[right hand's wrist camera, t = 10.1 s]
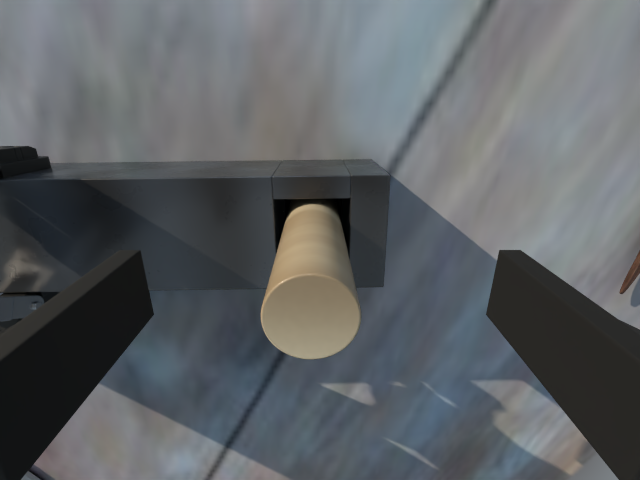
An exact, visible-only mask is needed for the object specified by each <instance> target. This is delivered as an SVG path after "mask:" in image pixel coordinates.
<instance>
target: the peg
mask: <svg viewBox="0 0 640 480" xmlns="http://www.w3.org/2000/svg"><path fill="white" fill-rule="evenodd" d="M261 323H262V327H263V330H264V332H265V334H266V336H267V337H268V339H269V340H270V342H271V343H272V344H273V345H274V346H275V347H277V348H278V349H279V350H281V351H282V352H284V353H286V354H288V355H290V356H293V357H297V358H301V359H321V358H326V357H329V356H332V355H334V354H336V353H338V352H340V351H341V350H343V349H344V348H346V347H347V346H348V345H349V344H350V343H351V342H352V340H353V339H354V337H355V336H356V334H357V332H358V330H359V327H360V324H361V309H360V304H359V299H358V295H357V290H356V286H355V282H354V277H353V273H352V268H351V264H350V260H349V255H348V251H347V246H346V242H345V237H344V233H343V229H342V224H341V220H340V215H339V211H338V206H337V202H336V199H291V203H290V206H289V210H288V214H287V217H286V221H285V225H284V228H283V232H282V235H281V239H280V243H279V246H278V250H277V253H276V257H275V261H274V264H273V268H272V272H271V275H270V279H269V282H268V286H267V290H266V293H265V297H264V300H263V304H262V308H261Z"/></svg>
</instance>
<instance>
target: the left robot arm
mask: <svg viewBox="0 0 640 480" xmlns="http://www.w3.org/2000/svg"><path fill="white" fill-rule="evenodd" d="M48 168H51V165H50V161H49V157H48V156H38V155H37V151H36V149H35V148H32V147H29V146H1V147H0V178H5V177H10V176H15V175H20V174H24V173H29V172H34V171H38V170H43V169H48ZM58 293H60V292H12V293H3V294H2V295H0V331H2V330H4V329H6V328H8V327H10V326H12V325H14V324H16V323H18V322H19V321H20V320H22V319H23V318H25V317H26V316H27V315H29V314H30V313H32V312H33V311H35V310H36V309H37V308H39V307H40V306H42V305H43V304H44V303H46V302H47V301H49V300H50V299H51V298H53V297H54V296H56V295H57V294H58Z"/></svg>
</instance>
